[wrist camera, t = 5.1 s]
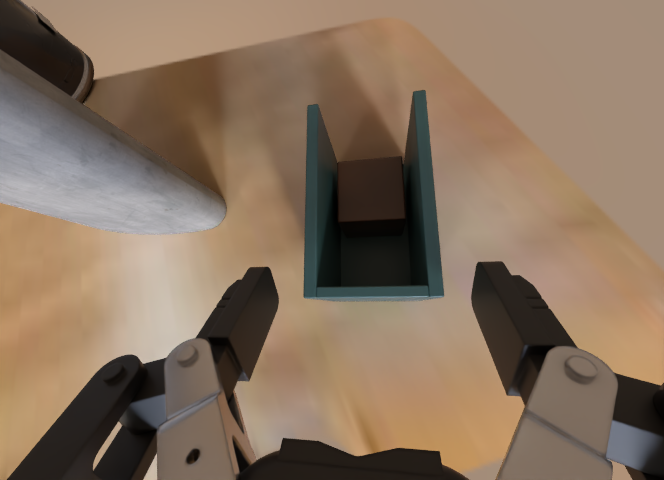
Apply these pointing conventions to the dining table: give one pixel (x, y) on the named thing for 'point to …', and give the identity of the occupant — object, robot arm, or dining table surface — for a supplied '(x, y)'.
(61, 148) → the hip flask
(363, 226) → the walnut block
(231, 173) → the dining table surface
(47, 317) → the dining table surface
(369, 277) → the teal open box
